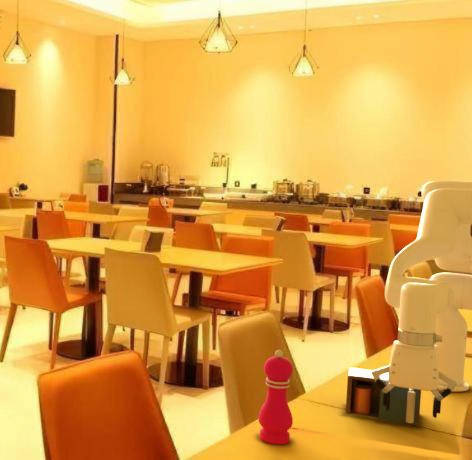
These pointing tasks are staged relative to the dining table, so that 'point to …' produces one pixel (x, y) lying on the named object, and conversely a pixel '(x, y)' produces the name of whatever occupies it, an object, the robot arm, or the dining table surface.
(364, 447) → the dining table surface
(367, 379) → the cabinet
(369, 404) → the orange cylinder
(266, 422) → the pepper mill
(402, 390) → the sliding door
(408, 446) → the dining table surface
